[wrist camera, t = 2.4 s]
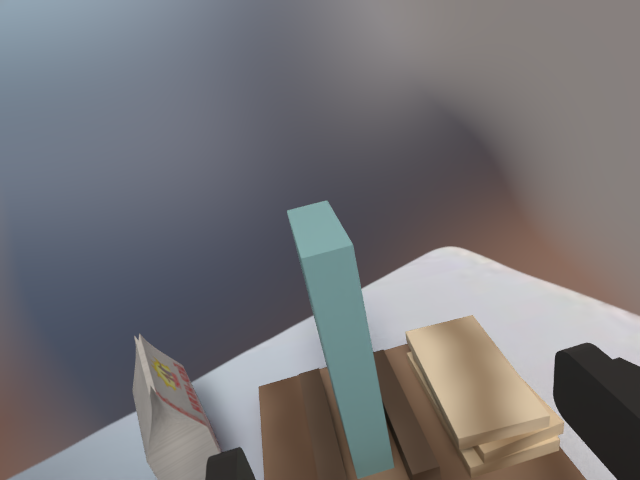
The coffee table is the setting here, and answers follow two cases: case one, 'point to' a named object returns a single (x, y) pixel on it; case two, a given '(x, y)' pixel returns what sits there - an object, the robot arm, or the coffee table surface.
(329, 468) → the walnut rack
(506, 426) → the pine offcuts
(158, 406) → the tea bag
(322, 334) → the teal panel
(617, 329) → the coffee table surface
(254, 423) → the coffee table surface
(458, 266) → the coffee table surface
